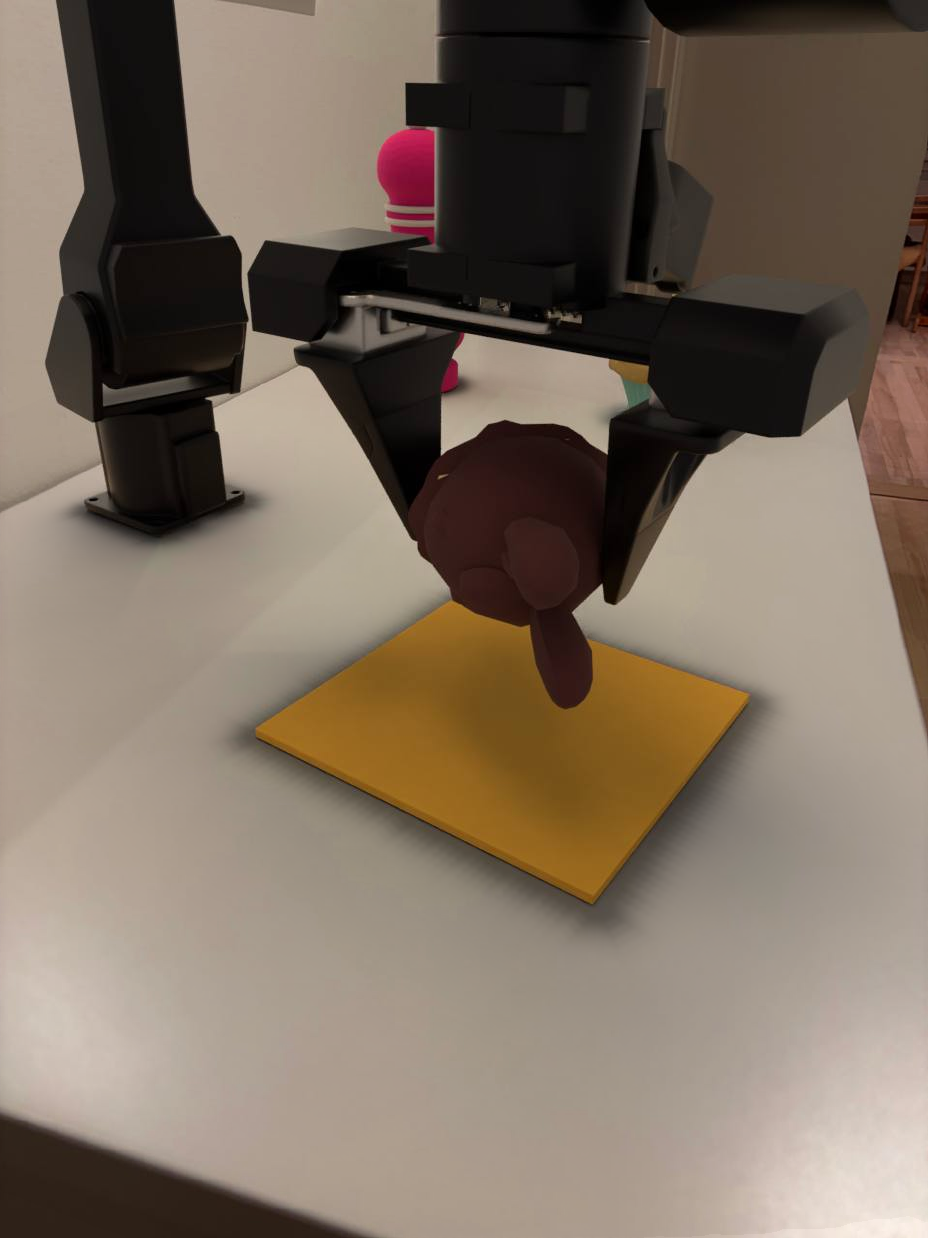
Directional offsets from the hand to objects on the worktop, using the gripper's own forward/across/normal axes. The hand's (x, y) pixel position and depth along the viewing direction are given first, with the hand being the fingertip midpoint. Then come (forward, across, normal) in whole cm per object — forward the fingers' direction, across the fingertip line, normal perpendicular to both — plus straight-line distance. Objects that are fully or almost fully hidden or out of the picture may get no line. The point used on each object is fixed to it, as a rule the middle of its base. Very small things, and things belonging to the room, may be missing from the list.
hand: (515, 567), depth 33 cm
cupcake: (+7, +11, -38) cm, 40 cm away
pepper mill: (+7, +31, -35) cm, 47 cm away
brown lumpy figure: (+2, 0, 0) cm, 2 cm away
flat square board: (+6, 0, 0) cm, 6 cm away
